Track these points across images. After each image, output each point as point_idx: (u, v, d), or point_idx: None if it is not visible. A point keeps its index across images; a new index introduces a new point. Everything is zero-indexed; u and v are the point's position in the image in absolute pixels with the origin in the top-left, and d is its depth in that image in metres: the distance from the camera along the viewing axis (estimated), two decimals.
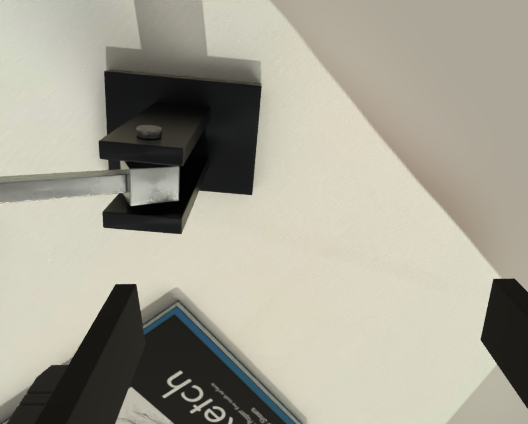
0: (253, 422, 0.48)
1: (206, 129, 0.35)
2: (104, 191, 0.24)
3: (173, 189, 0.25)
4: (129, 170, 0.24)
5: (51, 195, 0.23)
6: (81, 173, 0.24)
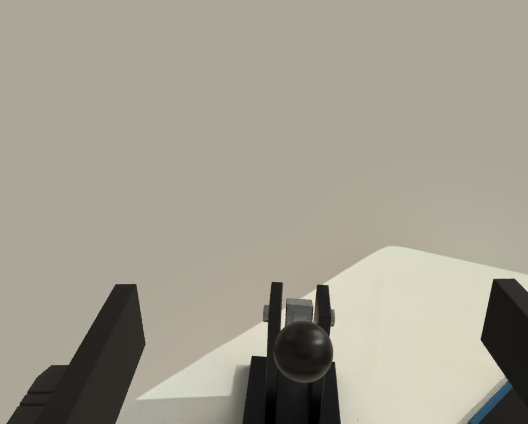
0: None
1: (284, 387, 0.44)
2: (304, 315, 0.35)
3: (302, 299, 0.39)
4: (287, 304, 0.36)
5: None
6: None
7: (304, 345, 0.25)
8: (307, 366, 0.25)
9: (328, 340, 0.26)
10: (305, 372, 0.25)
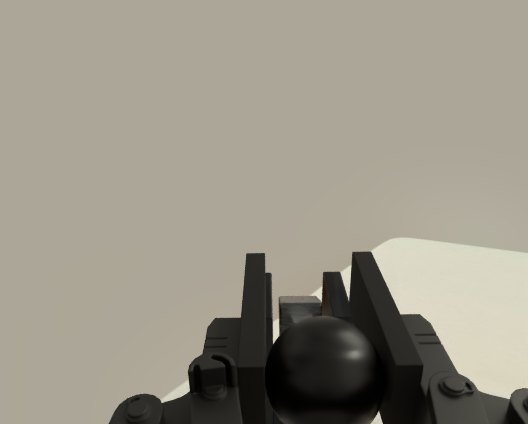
0: None
1: None
2: None
3: (302, 296, 0.26)
4: (282, 302, 0.23)
5: None
6: None
7: (329, 363, 0.12)
8: (340, 408, 0.12)
9: (374, 350, 0.13)
10: (336, 422, 0.12)
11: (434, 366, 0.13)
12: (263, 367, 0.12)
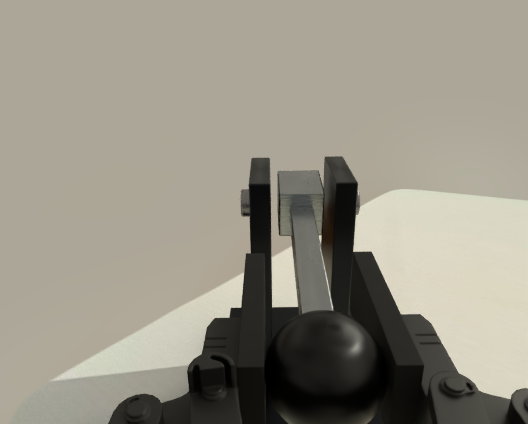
0: None
1: None
2: (311, 218, 0.20)
3: (304, 172, 0.23)
4: (281, 194, 0.21)
5: (316, 249, 0.18)
6: (292, 242, 0.20)
7: (332, 399, 0.11)
8: None
9: (380, 365, 0.12)
10: None
11: (435, 366, 0.13)
12: (262, 367, 0.12)
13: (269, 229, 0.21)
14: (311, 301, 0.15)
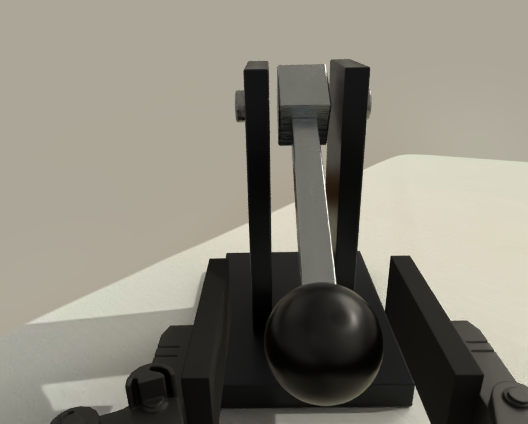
0: None
1: (284, 284, 0.26)
2: (314, 137, 0.18)
3: (308, 68, 0.20)
4: (281, 105, 0.18)
5: (319, 186, 0.17)
6: (293, 166, 0.18)
7: (329, 388, 0.12)
8: None
9: (378, 350, 0.12)
10: None
11: (491, 376, 0.12)
12: (208, 378, 0.12)
13: (267, 127, 0.18)
14: (312, 259, 0.15)
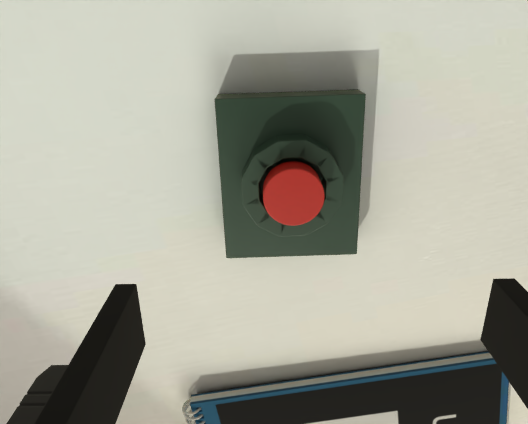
0: None
1: None
2: None
3: None
4: None
5: None
6: None
7: None
8: None
9: None
10: None
11: None
12: None
13: None
14: None
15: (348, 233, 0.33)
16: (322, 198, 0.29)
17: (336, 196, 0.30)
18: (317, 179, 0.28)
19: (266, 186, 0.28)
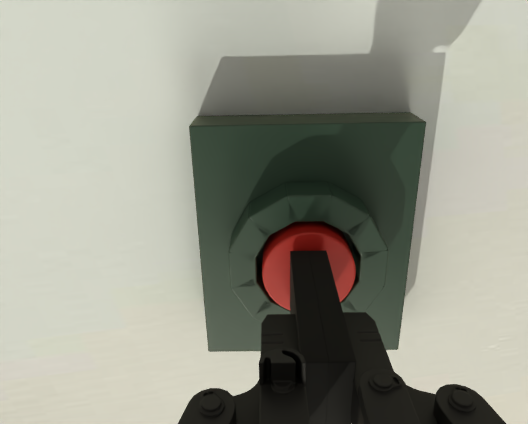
0: None
1: None
2: None
3: None
4: None
5: None
6: None
7: None
8: None
9: None
10: None
11: (371, 363, 0.13)
12: (328, 362, 0.12)
13: None
14: None
15: (387, 321, 0.22)
16: (352, 276, 0.19)
17: (375, 278, 0.19)
18: (345, 249, 0.18)
19: (267, 257, 0.19)
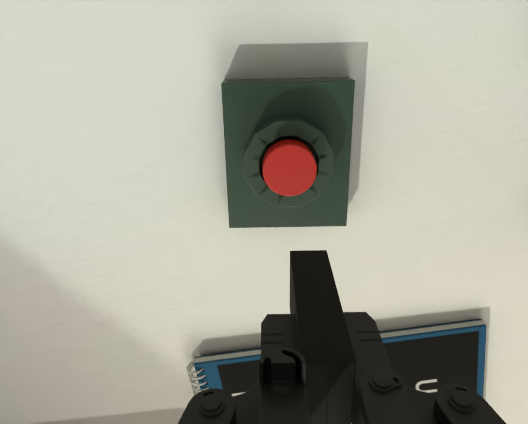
0: None
1: None
2: None
3: None
4: None
5: None
6: None
7: None
8: None
9: None
10: None
11: (370, 363, 0.13)
12: (328, 362, 0.12)
13: None
14: None
15: (338, 206, 0.37)
16: (315, 171, 0.32)
17: (327, 171, 0.34)
18: (310, 154, 0.32)
19: (265, 160, 0.32)
